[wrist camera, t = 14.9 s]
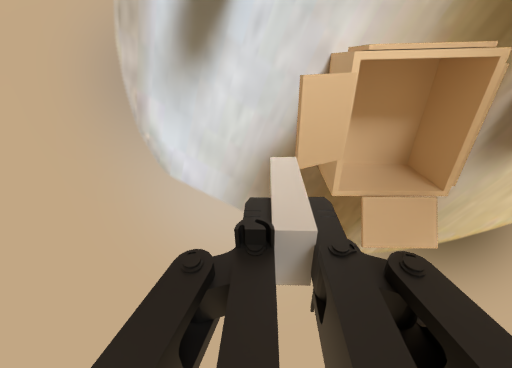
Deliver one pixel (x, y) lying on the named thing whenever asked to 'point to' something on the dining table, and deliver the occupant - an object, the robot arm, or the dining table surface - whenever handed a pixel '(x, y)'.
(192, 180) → the dining table surface
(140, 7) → the dining table surface
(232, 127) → the dining table surface
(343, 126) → the side flap
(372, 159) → the carton
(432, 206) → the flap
